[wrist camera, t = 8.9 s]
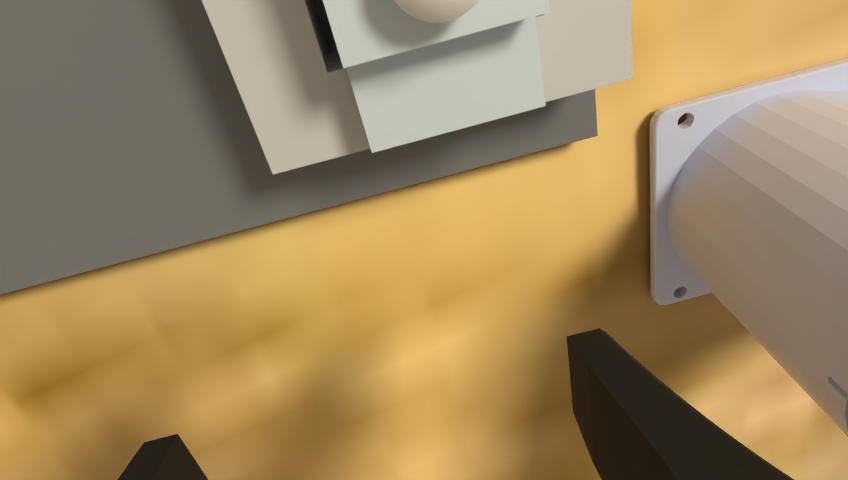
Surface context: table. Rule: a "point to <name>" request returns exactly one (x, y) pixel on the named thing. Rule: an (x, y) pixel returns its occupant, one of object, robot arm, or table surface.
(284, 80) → the servo chassis
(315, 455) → the table surface
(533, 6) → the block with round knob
